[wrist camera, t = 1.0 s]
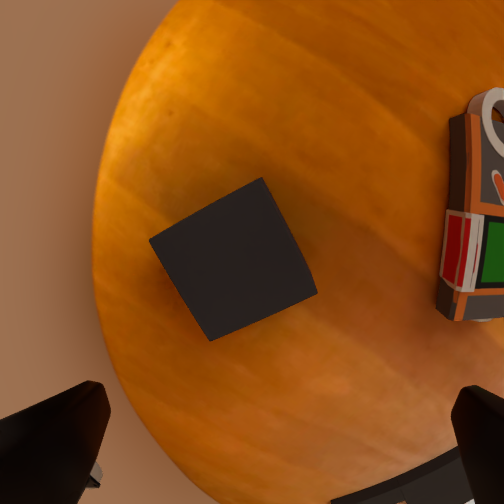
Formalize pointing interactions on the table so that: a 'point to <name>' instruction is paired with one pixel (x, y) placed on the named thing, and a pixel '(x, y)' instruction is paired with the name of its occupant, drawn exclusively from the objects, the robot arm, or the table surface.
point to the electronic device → (475, 215)
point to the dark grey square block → (235, 261)
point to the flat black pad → (420, 485)
